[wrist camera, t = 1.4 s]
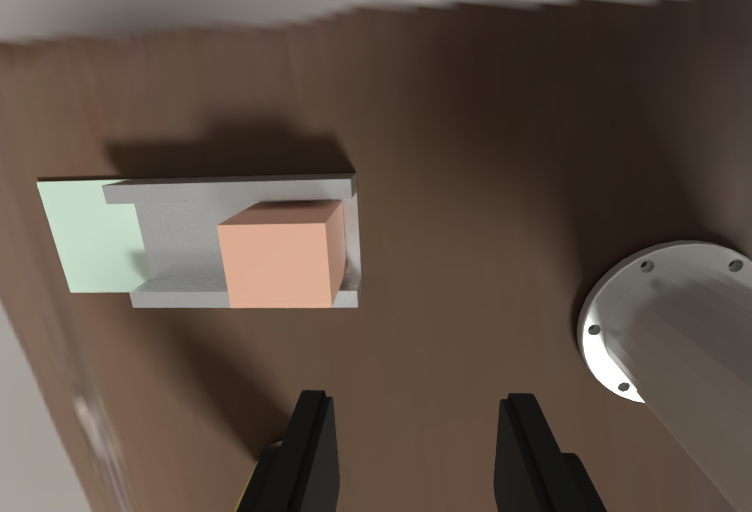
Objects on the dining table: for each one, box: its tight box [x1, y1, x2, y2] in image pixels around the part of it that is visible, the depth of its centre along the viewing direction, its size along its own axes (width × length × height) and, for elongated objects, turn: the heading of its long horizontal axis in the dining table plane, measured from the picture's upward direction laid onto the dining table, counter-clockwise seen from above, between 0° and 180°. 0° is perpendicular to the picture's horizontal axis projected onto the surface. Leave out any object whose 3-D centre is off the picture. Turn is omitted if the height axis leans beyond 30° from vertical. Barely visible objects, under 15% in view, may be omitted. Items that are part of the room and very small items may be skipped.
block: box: [217, 201, 346, 308], centre depth 25 cm, size 6×5×6 cm
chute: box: [102, 173, 362, 308], centre depth 28 cm, size 16×9×3 cm, turn 92°
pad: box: [37, 179, 151, 292], centre depth 30 cm, size 7×9×1 cm
